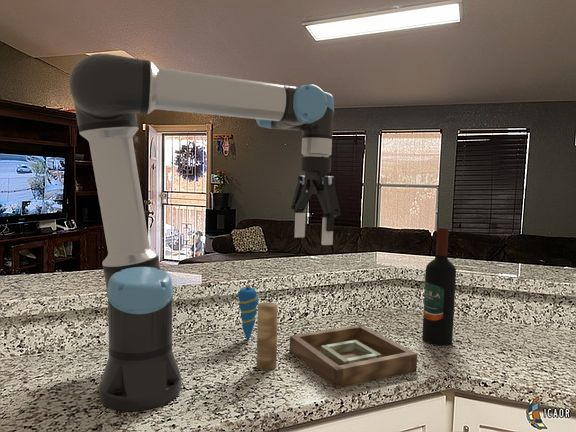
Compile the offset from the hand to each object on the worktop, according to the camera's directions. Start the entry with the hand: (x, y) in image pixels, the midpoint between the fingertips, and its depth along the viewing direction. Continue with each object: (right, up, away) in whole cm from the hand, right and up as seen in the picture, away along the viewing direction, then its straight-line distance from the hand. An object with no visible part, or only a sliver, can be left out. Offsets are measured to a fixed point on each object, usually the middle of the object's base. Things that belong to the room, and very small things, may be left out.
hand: (312, 240), depth 113 cm
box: (+8, -27, -9) cm, 30 cm away
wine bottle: (+33, -27, +5) cm, 43 cm away
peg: (-11, -27, -13) cm, 32 cm away
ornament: (-17, -26, +3) cm, 31 cm away
